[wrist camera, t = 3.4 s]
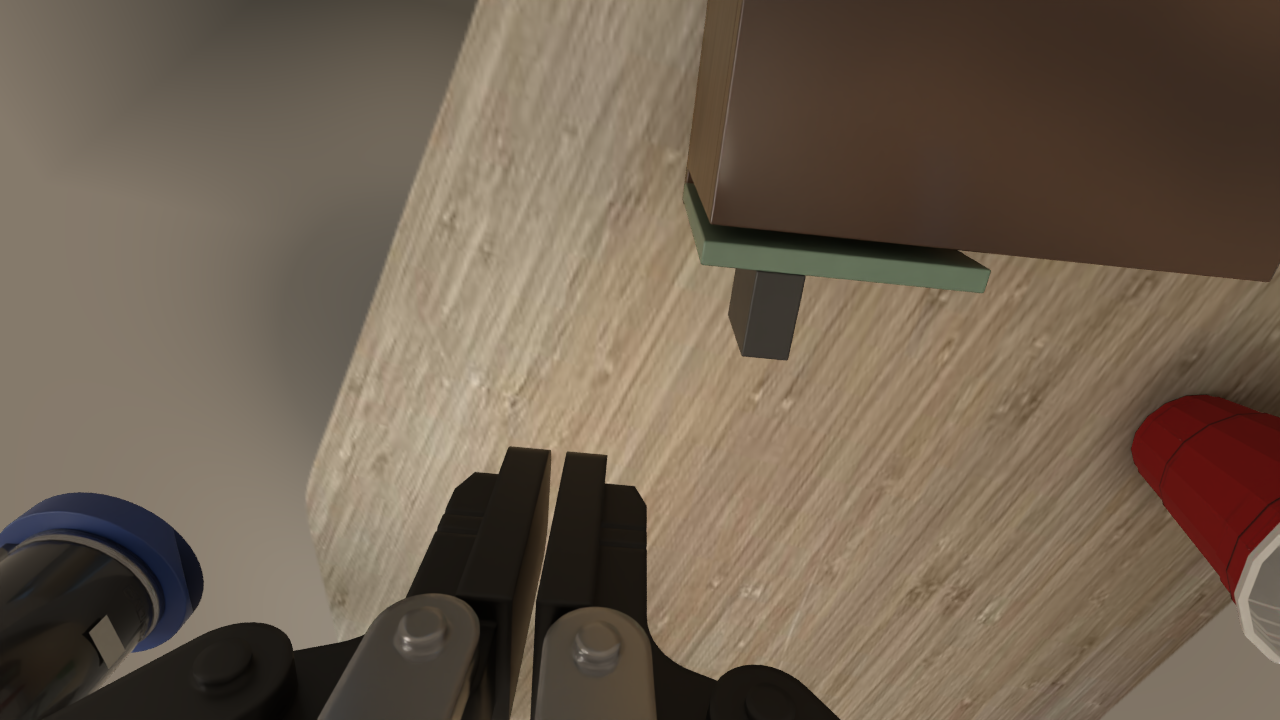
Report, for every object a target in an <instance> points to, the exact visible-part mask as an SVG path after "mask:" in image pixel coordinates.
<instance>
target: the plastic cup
mask: <svg viewBox="0 0 1280 720" xmlns="http://www.w3.org/2000/svg"><path fill="white" fill-rule="evenodd" d="M1131 451H1132V456H1133V460H1134V464H1135V465H1136V466H1137V468H1138V472H1139V473H1140V474H1141V475H1142V477H1143V478H1144V479H1145V480H1146V481H1147V483H1148V484H1149V485H1150V486H1151V487H1152V489H1153V490H1154V491H1155V492H1156V493H1157V495H1158V496H1159V497H1160V498H1161V499H1162V502H1163V505H1164V506H1165V507H1166V509H1167V510H1168V511H1169V513H1170V514H1171V515H1172V516H1173V518H1174V519H1175V520H1176V521H1177V523H1178V524H1179V525H1180V526H1181V528H1182V529H1183V530H1184V532H1185V533H1186V534H1187V535H1188V537H1189V538H1190V539H1191V540H1192V542H1193V543H1194V544H1195V545H1196V547H1197V548H1198V549H1199V551H1200V552H1201V553H1202V554H1203V556H1204V557H1205V558H1206V559H1207V561H1208V562H1209V563H1210V565H1211V566H1212V567H1213V568H1214V570H1215V571H1216V572H1217V573H1218V575H1219V576H1220V580H1221V582H1222V583H1223V585H1224V586H1225V587H1226V589H1227V590H1228V591H1229V593H1230V594H1231V599H1232V600H1233V602H1234V603H1235V604H1236V606H1237V611H1238V616H1239V621H1240V626H1241V629H1242V630H1243V632H1244V634H1245V636H1246V637H1247V638H1248V639H1249V640H1250V641H1251V642H1252V643H1253V644H1254V645H1255V646H1256V647H1258V649H1259V650H1260V651H1261V652H1262V653H1263V654H1264V655H1265V656H1266V657H1267V658H1269V659H1270V660H1271V661H1272V662H1275V663H1278V664H1280V418H1279V417H1277V416H1274V415H1271V414H1268V413H1261V412H1259V411H1256V410H1253V409H1251V408H1248V407H1245V406H1243V405H1240V404H1237V403H1234V402H1232V401H1229V400H1226V399H1223V398H1220V397H1212V396H1209V395H1191V396H1185V397H1182V398H1179V399H1176V400H1174V401H1171V402H1168V403H1166V404H1164V405H1163V406H1161V407H1160V408H1159V409H1157V410H1156V411H1155V412H1153V413H1152V414H1150V415H1149V416H1148V417H1147V418H1146V420H1145V421H1144V422H1143V423H1142V425H1141V426H1140V427H1139V429H1138V430H1137V431H1136V433H1135V437H1134V440H1133V444H1132V447H1131Z"/></svg>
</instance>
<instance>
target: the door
mask: <svg viewBox="0 0 1280 720" xmlns="http://www.w3.org/2000/svg"><path fill="white" fill-rule="evenodd" d="M683 201H684V204H685V208H686V211H687V215H688V219H689V222H690V226H691V229H692V233H693V237H694V240H695V244H696V247H697V251H698V255H699V258H700V262H701V264H702V265H709V266H718V267H728V268H736V270H735V276H734V282H733V288H732V294H731V300H730V306H729V312H728V316H729V319H730V322H731V325H732V328H733V331H734V334H735V337H736V340H737V343H738V346H739V349H740V352H741V355H742V356H746V357H756V358H766V359H777V360H788V357H789V352H790V348H791V343H792V338H793V334H794V329H795V324H796V320H797V315H798V310H799V306H800V301H801V296H802V292H803V287H804V282H805V278H806V277H805V275H807V276H817V277H827V278H837V279H847V280H857V281H867V282H876V283H886V284H896V285H906V286H916V287H926V288H936V289H946V290H955V291H965V292H975V293H983V292H984V291H985V288H986V285H987V282H988V279H989V276H990V273H991V270H990V269H988V268H986V267H985V266H983V265H981V264H979V263H978V262H976V261H974V260H973V259H971V258H969V257H968V256H966V255H964V254H963V253H961V252H959V251H958V250H952V249H943V248H933V247H923V246H914V245H904V244H894V243H885V242H875V241H865V240H856V239H846V238H836V237H827V236H817V235H807V234H798V233H788V232H778V231H769V230H759V229H749V228H740V227H730V226H720V225H712V224H710V222H709V219H708V217H707V214H706V212H705V209H704V207H703V204H702V202H701V199H700V197H699V195H698V192H697V190H696V187H695V185H694V184H692V183H685V186H684V194H683Z"/></svg>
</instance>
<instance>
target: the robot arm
mask: <svg viewBox="0 0 1280 720" xmlns="http://www.w3.org/2000/svg"><path fill="white" fill-rule="evenodd" d="M606 465H607V455H600V454H589V453H578V452H567V453H566V458H565V462H564V467H563V472H562V477H561V482H560V487H559V492H558V497H557V502H556V506H555V511H554V516H553V521H552V526H551V531H550V536H549V541H548V546H547V550H546V555H545V560H544V565H543V570H542V575H541V580H540V585H539V590H538V594H537V599H536V613H535V634H534V655H533V676H532V698H531V719H530V720H840V719H839V718H838V717H837V716H836V715H835V714H834V713H833V712H832V711H831V710H830V709H829V708H828V707H827V706H826V705H825V704H824V703H823V702H822V701H820V700H819V699H818V698H817V697H816V696H815V695H814V694H813V693H812V692H811V691H810V690H809V689H808V688H807V687H806V686H805V685H803V684H802V683H801V682H800V681H799V680H797V679H796V678H794V677H793V676H791V675H789V674H787V673H785V672H783V671H781V670H778V669H776V668H773V667H768V666H763V665H745V666H740V667H737V668H734V669H732V670H730V671H728V672H727V673H725V674H724V675H723V676H721V677H720V679H719V680H718V681H717V680H714V679H711V678H709V677H706V676H704V675H701V674H698V673H696V672H693V671H691V670H688V669H686V668H684V667H682V666H680V665H679V664H677V663H675V662H674V661H672V660H671V659H670V658H668V657H667V656H666V655H665V654H664V653H663V652H662V651H661V650H660V649H659V648H658V646H657V645H656V643H655V642H654V641H653V639H652V637H651V635H650V632H649V629H648V625H647V550H646V546H647V532H646V528H647V506H646V504H645V502H644V501H643V499H642V498H641V496H640V494H639V493H638V491H637V489H636V488H635V486H626V485H615V484H605V475H606ZM550 473H551V450H544V449H533V448H522V447H511V446H510V447H509V448H508V450H507V452H506V455H505V458H504V461H503V463H502V466H501V469H500V472H499V474H490V473H479V472H475V473H473V474H472V475H471V476H470V477H469V478H467V479H466V480H465V481H464V482H463V483H461V484H460V485H459V486H458V487H457V488H455V490H454V492H453V494H452V496H451V498H450V501H449V503H448V505H447V507H446V510H445V514H443V516H442V518H441V521H440V523H439V525H438V529H437V532H435V534H434V536H433V538H432V541H431V543H430V545H429V547H428V550H427V552H426V554H425V556H424V558H423V561H422V563H421V565H420V567H419V570H418V572H417V574H416V576H415V578H414V581H413V583H412V585H411V587H410V590H409V592H408V594H407V596H406V598H405V599H403V600H401V601H398V602H396V603H395V604H393V605H391V606H390V607H388V608H387V609H385V610H384V611H383V612H382V613H380V614H379V615H378V616H377V618H376V619H375V620H374V621H373V622H372V624H371V625H370V627H369V628H368V630H367V632H366V634H364V635H362V636H360V637H357V638H354V639H351V640H348V641H344V642H340V643H335V644H329V645H324V646H318V647H313V648H307V649H302V650H296V651H293V648H292V644H291V641H290V639H289V638H288V636H287V635H286V634H285V633H284V632H282V631H281V630H280V629H278V628H276V627H274V626H271V625H268V624H264V623H255V622H252V623H238V624H232V625H228V626H224V627H221V628H218V629H215V630H212V631H210V632H207V633H205V634H203V635H201V636H199V637H197V638H195V639H193V640H191V641H189V642H188V643H186V644H184V645H182V646H180V647H178V648H176V649H175V650H173V651H171V652H169V653H167V654H165V655H163V656H162V657H159V658H157V659H156V660H154V661H152V662H150V663H148V664H146V665H144V666H142V667H140V668H139V669H137V670H135V671H133V672H131V673H129V674H127V675H126V676H124V677H122V678H120V679H118V680H116V681H114V682H112V683H111V684H108V685H107V686H105V687H103V688H101V689H99V688H100V687H101V686H102V685H103V683H104V682H105V681H106V680H107V679H108V678H109V677H110V676H111V674H112V673H113V672H114V671H115V670H116V669H117V668H118V667H119V665H120V664H121V663H122V662H123V661H124V660H125V659H126V658H127V656H128V655H129V654H130V653H131V652H132V651H133V650H134V648H135V647H136V646H137V645H138V644H139V643H140V642H141V641H142V640H144V639H145V638H146V637H147V636H148V635H149V634H150V633H151V631H152V630H153V629H154V628H155V627H156V626H157V624H158V623H159V622H160V620H161V619H162V616H163V614H164V610H165V597H164V593H163V590H162V587H161V585H160V582H159V581H158V579H157V577H156V576H155V574H154V573H153V572H152V570H151V569H150V568H149V567H148V566H147V565H146V564H145V563H144V562H143V561H142V560H141V559H140V558H139V557H138V556H136V555H135V554H134V553H133V552H131V551H130V550H128V549H127V548H125V547H123V546H122V545H120V544H118V543H116V542H114V541H112V540H110V539H108V538H105V537H103V536H100V535H97V534H94V533H90V532H86V531H81V530H74V529H52V530H46V531H42V532H39V533H36V534H34V535H32V536H30V537H28V538H27V539H25V540H24V541H23V542H21V543H20V544H12V543H6V544H4V545H3V546H1V547H0V720H510V716H511V711H512V706H513V701H514V696H515V692H516V687H517V682H518V677H519V672H520V667H521V663H522V658H523V653H524V648H525V643H526V639H527V634H528V629H529V624H530V619H531V615H532V610H533V605H534V600H535V595H536V591H537V586H538V581H539V576H540V571H541V567H542V562H543V557H544V551H545V544H546V536H547V526H548V510H549V492H550ZM98 689H99V690H98Z"/></svg>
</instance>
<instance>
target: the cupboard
mask: <svg viewBox="0 0 1280 720" xmlns="http://www.w3.org/2000/svg"><path fill="white" fill-rule="evenodd" d="M685 183H692V184H694V185H695V187H696V190H697V192H698V195H699V197H700V199H701V202H702V204H703V207H704V209H705V212H706V214H707V217H708V219H709V222H710V224H712V225H720V226H730V227H740V228H749V229H759V230H769V231H778V232H788V233H798V234H807V235H817V236H827V237H836V238H846V239H856V240H865V241H875V242H885V243H894V244H904V245H914V246H923V247H933V248H943V249H952V250H962V251H972V252H981V253H991V254H1001V255H1010V256H1020V257H1030V258H1040V259H1049V260H1059V261H1069V262H1078V263H1088V264H1098V265H1107V266H1117V267H1127V268H1136V269H1146V270H1156V271H1165V272H1175V273H1185V274H1194V275H1204V276H1214V277H1223V278H1233V279H1243V280H1252V281H1262V282H1270V281H1271V279H1272V277H1273V275H1274V273H1275V271H1276V269H1277V268H1278V266H1279V264H1280V0H708V3H707V11H706V19H705V27H704V34H703V42H702V50H701V58H700V66H699V74H698V82H697V90H696V98H695V105H694V113H693V121H692V129H691V137H690V145H689V153H688V161H687V168H686V176H685ZM684 186H685V184H684ZM683 194H684V192H683ZM683 203H684V201H683Z"/></svg>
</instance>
